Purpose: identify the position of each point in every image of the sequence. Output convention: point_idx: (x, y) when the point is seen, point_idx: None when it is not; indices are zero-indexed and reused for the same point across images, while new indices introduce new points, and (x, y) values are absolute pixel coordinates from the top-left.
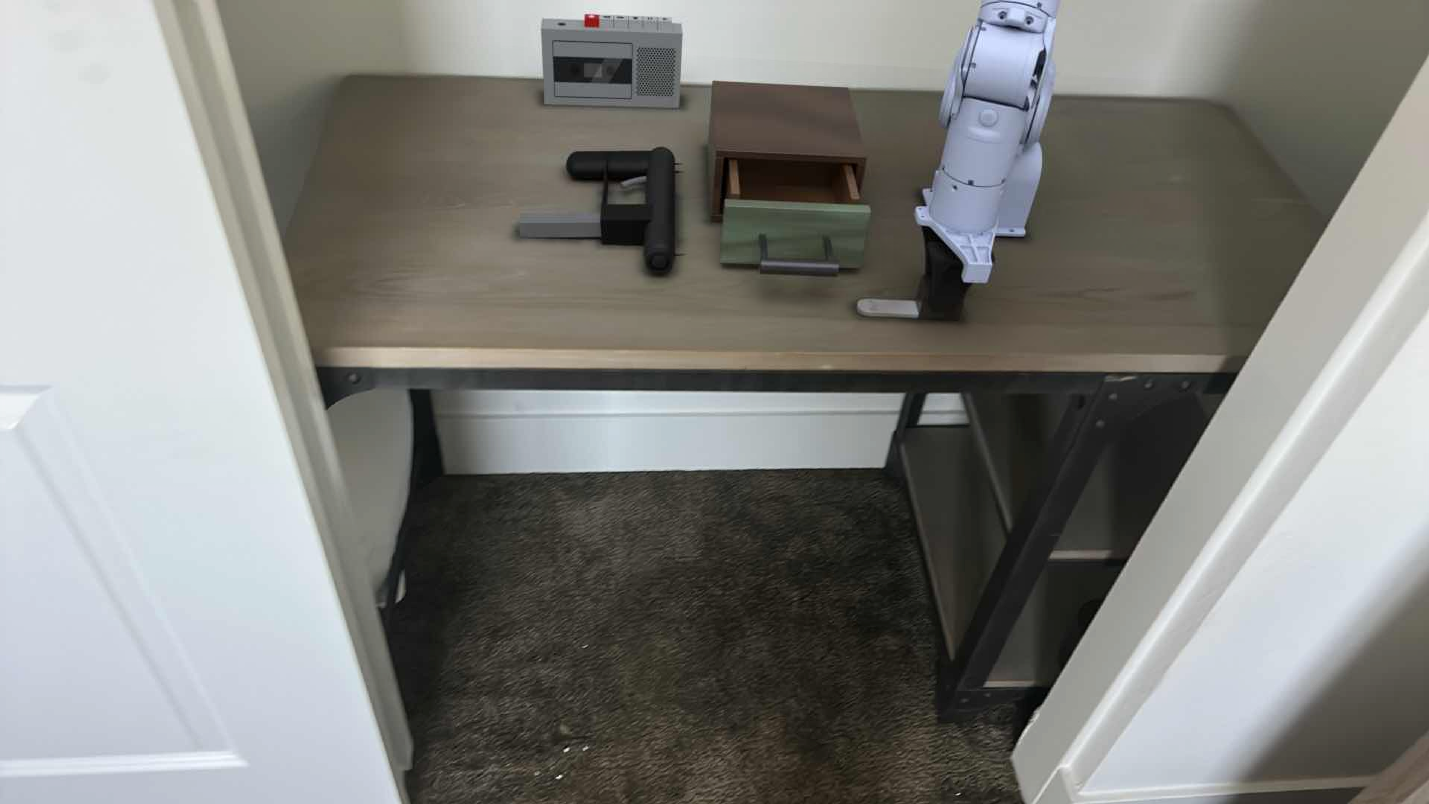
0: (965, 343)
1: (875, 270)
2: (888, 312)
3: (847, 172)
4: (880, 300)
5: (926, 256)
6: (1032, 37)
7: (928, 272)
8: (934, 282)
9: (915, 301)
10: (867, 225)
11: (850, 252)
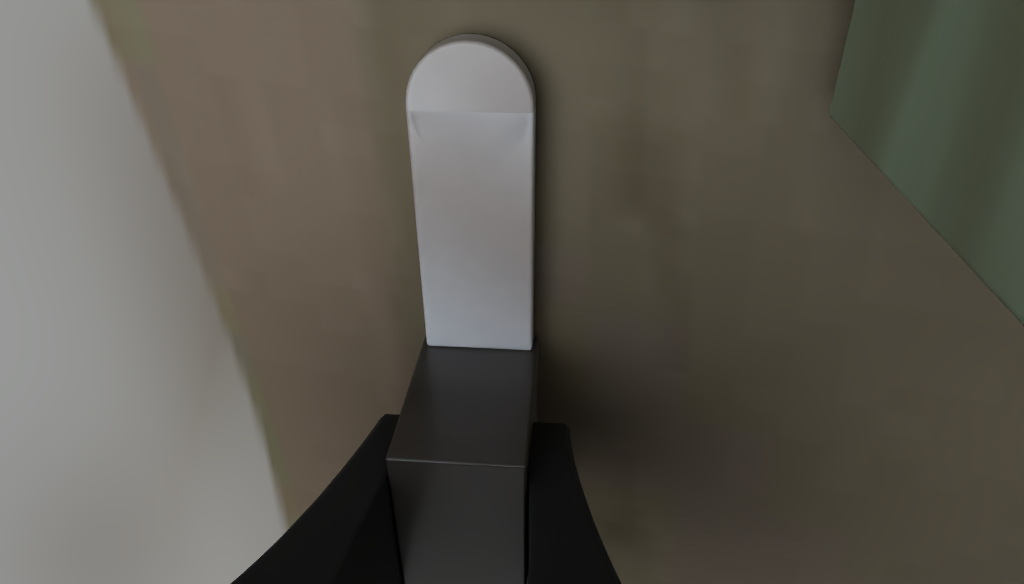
0: (297, 459)
1: (854, 206)
2: (419, 211)
3: None
4: (521, 187)
5: (560, 569)
6: None
7: (529, 505)
8: (273, 551)
9: (526, 350)
10: (998, 288)
11: (896, 60)
